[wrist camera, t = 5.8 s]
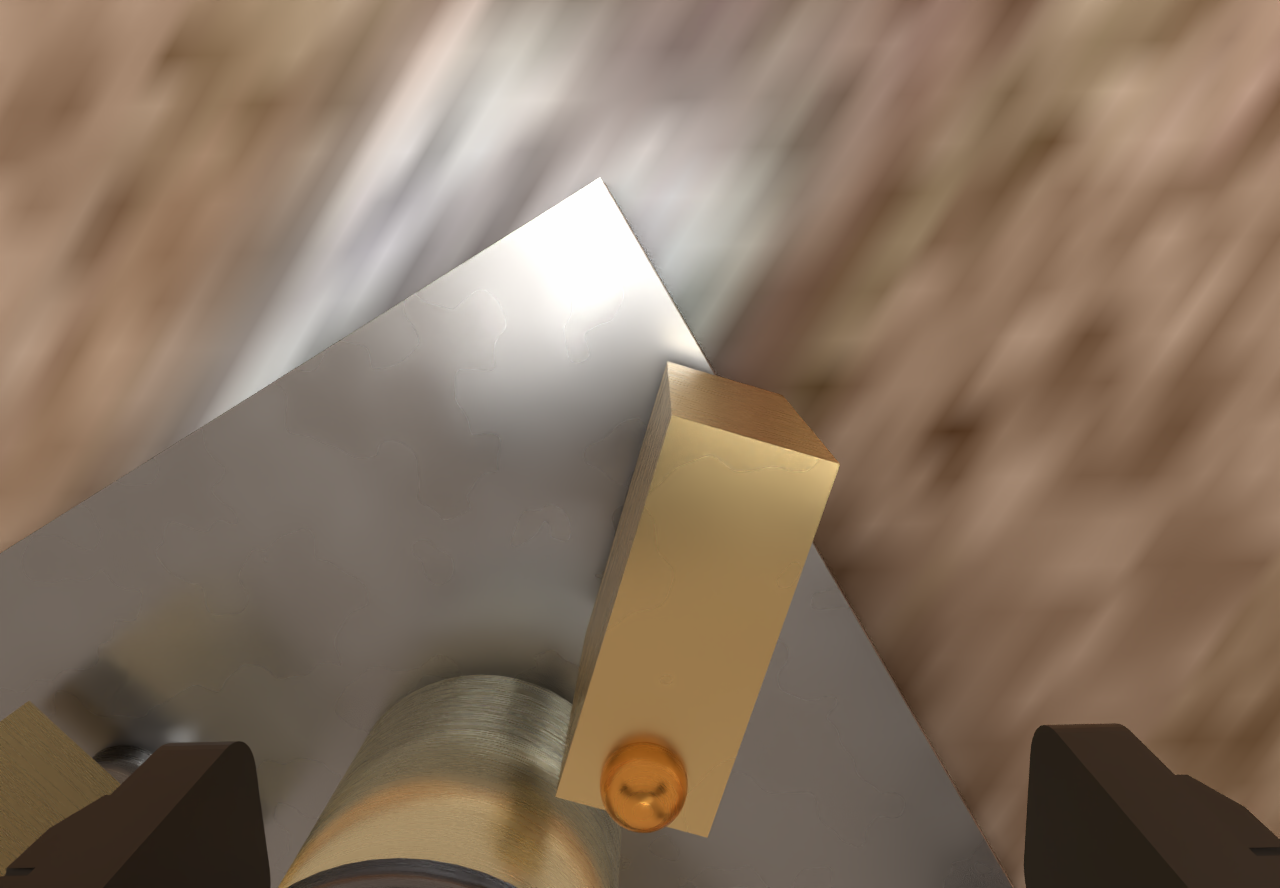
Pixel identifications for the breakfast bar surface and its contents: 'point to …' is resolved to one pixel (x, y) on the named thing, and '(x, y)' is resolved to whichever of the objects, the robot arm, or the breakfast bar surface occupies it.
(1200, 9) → the breakfast bar surface
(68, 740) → the cream rectangular block
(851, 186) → the breakfast bar surface
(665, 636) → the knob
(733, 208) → the breakfast bar surface
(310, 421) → the plate
